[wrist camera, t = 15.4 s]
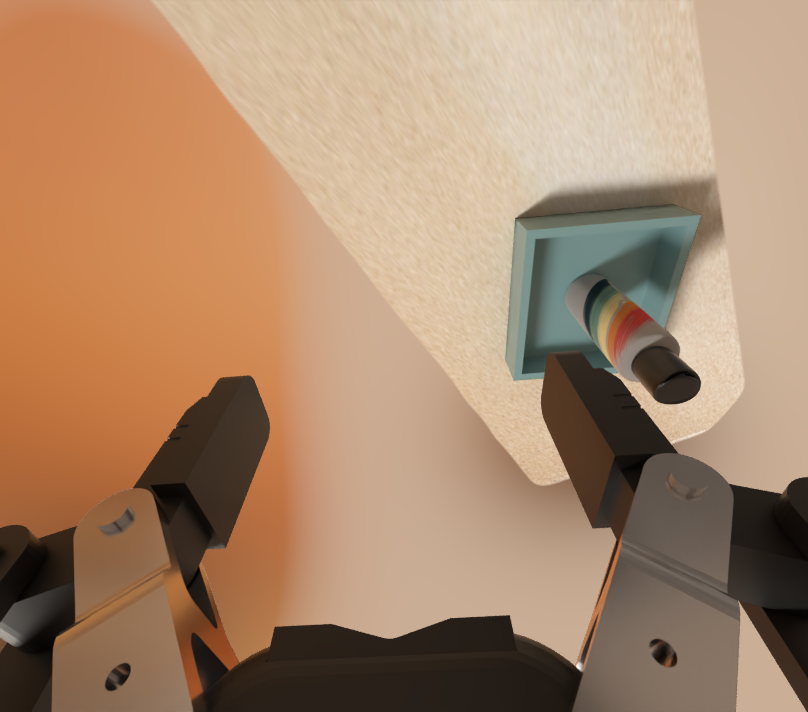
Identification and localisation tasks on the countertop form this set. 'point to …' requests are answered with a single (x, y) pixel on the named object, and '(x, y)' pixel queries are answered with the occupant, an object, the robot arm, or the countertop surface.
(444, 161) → the countertop surface
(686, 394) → the lotion bottle
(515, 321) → the tray
